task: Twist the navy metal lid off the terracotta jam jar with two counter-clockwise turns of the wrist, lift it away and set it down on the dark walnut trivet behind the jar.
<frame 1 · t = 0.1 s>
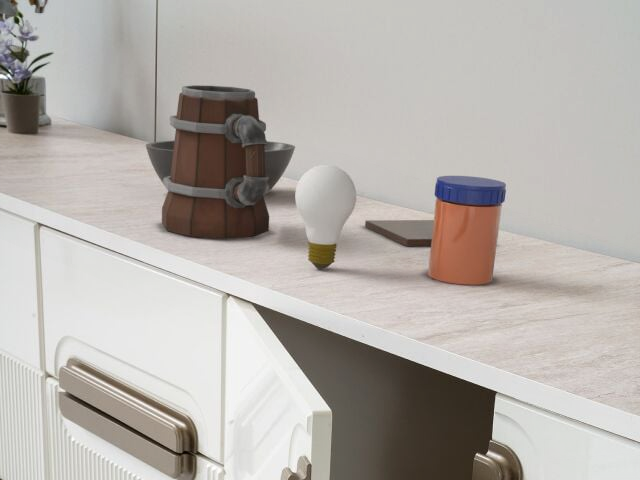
light bulb: (320, 270, 111), on the tv stand
lid: (470, 185, 109), point 9 cm above the tv stand, screwed on, not yet turned
bowl: (220, 195, 149), on the tv stand
trivet: (427, 235, 132), on the tv stand
jar: (459, 277, 112), on the tv stand
mug: (224, 234, 125), on the tv stand
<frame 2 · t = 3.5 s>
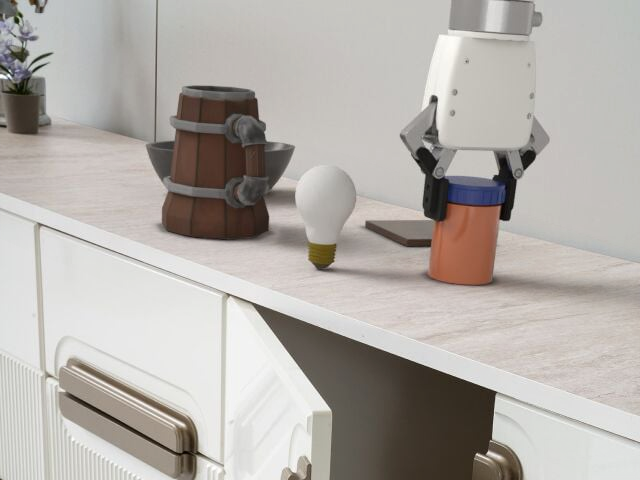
hand: (467, 217, 110), 6 cm above the tv stand, tool pointing down, fingers closed on lid, 6 cm apart
lid: (470, 185, 109), point 9 cm above the tv stand, screwed on, not yet turned, touching gripper
everything else where it was.
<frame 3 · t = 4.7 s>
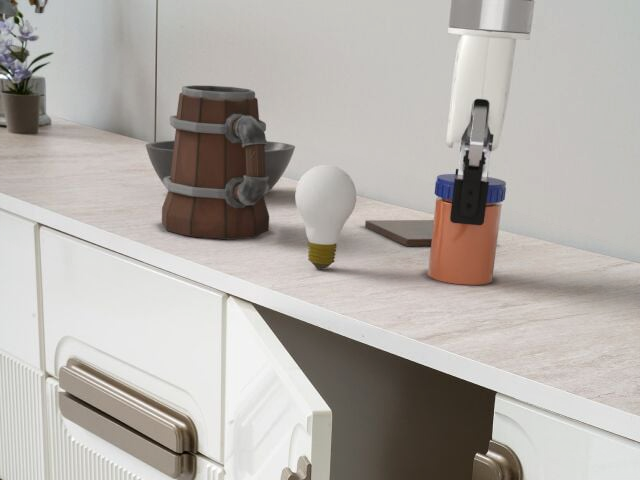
hand: (467, 215, 110), 6 cm above the tv stand, tool pointing down, fingers closed on lid, 6 cm apart
lid: (470, 183, 109), point 9 cm above the tv stand, turned 59° so far, risen 0.2 cm, still on its thread, touching gripper
everything else where it was.
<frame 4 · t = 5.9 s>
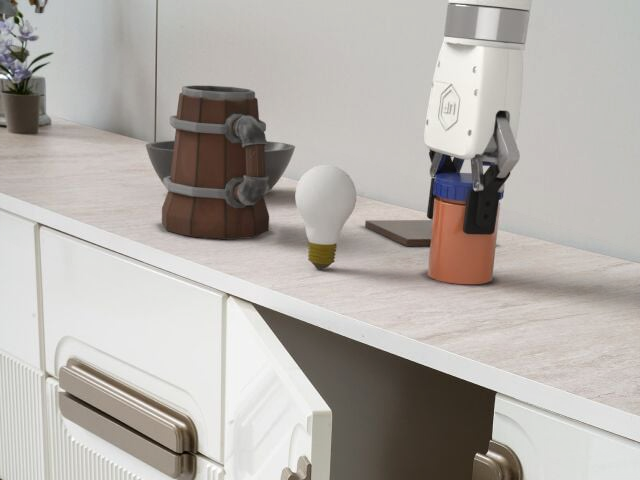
hand: (459, 224, 110), 5 cm above the tv stand, tool pointing down, fingers closed on jar, lid, 6 cm apart
lid: (469, 182, 108), point 9 cm above the tv stand, turned 90° so far, risen 0.2 cm, still on its thread, touching gripper
jar: (459, 276, 112), on the tv stand, touching gripper
everything else where it was.
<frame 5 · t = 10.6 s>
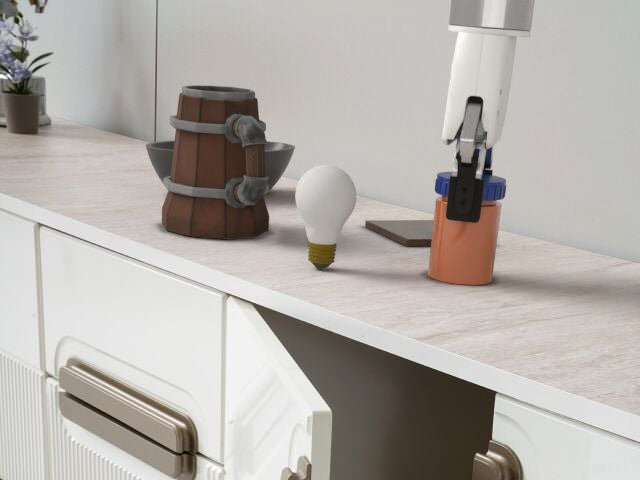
hand: (467, 213, 110), 6 cm above the tv stand, tool pointing down, fingers closed on lid, 6 cm apart
lid: (471, 181, 108), point 9 cm above the tv stand, turned 143° so far, risen 0.4 cm, still on its thread, touching gripper
jar: (459, 277, 112), on the tv stand
everything else where it was.
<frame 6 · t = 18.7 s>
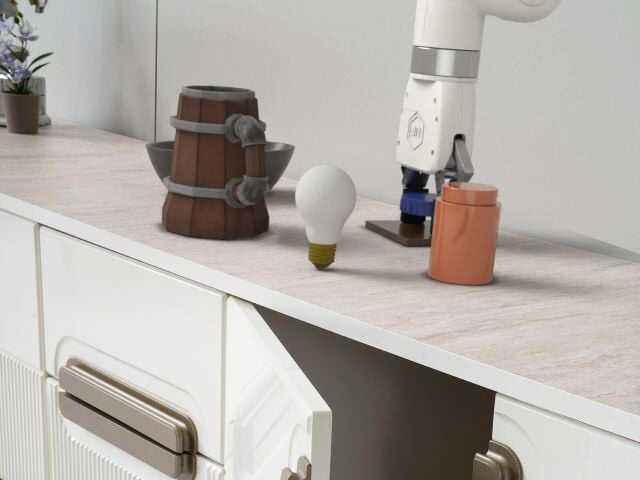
hand: (427, 227, 131), 1 cm above the tv stand, tool pointing down, fingers closed on lid, 6 cm apart
lid: (429, 200, 130), point 4 cm above the tv stand, off its thread, touching gripper
everything else where it was.
when the fingers open (2 cm above the tv stand, at t = 26.7 s): lid drops 3 cm, resting on trivet.
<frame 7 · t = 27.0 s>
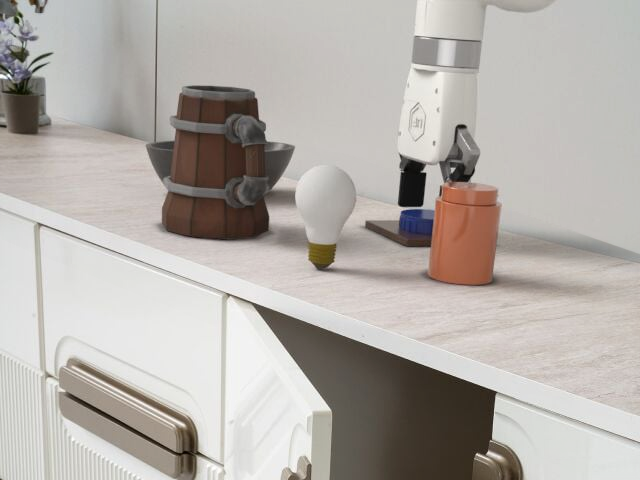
hand: (429, 214, 131), 3 cm above the tv stand, tool pointing down, fingers open, 9 cm apart
lid: (428, 217, 131), point 2 cm above the tv stand, off its thread, touching trivet
everything else where it was.
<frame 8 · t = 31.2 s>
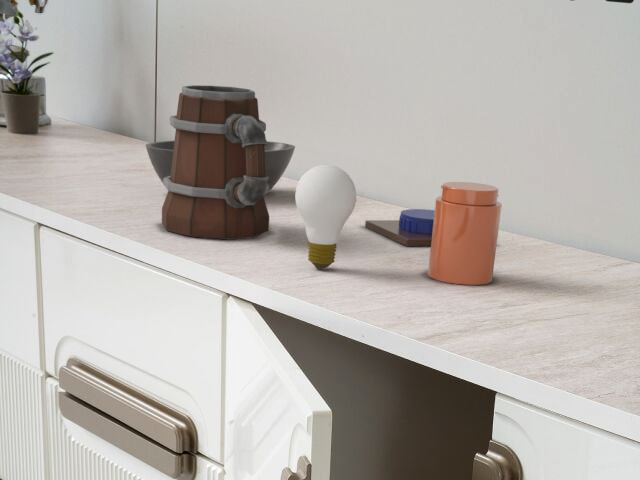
hand: (589, 0, 116), 26 cm above the tv stand, tool pointing down, fingers open, 9 cm apart
nothing on the tv stand moved.
at the end: lid inside the target area on the trivet (0.0 cm from its centre), point 2.1 cm above the trivet's base; lid point 2.1 cm above the tv stand; the gripper is holding nothing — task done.
